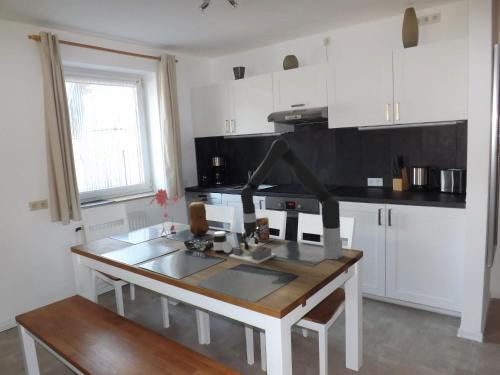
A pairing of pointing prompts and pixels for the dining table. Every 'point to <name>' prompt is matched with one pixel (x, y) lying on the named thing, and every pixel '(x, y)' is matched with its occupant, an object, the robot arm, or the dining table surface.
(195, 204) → the butternut squash
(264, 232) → the candy box
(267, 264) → the dining table surface
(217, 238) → the spread jar
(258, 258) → the cradle
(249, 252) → the slat
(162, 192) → the red flower in vase
